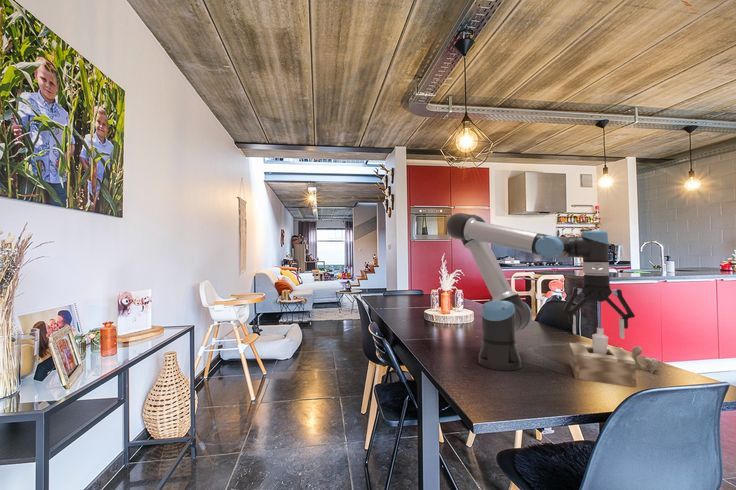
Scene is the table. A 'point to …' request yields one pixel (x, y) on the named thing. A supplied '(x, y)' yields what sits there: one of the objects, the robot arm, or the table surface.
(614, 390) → the table surface
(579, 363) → the holder box
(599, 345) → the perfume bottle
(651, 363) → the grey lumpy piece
